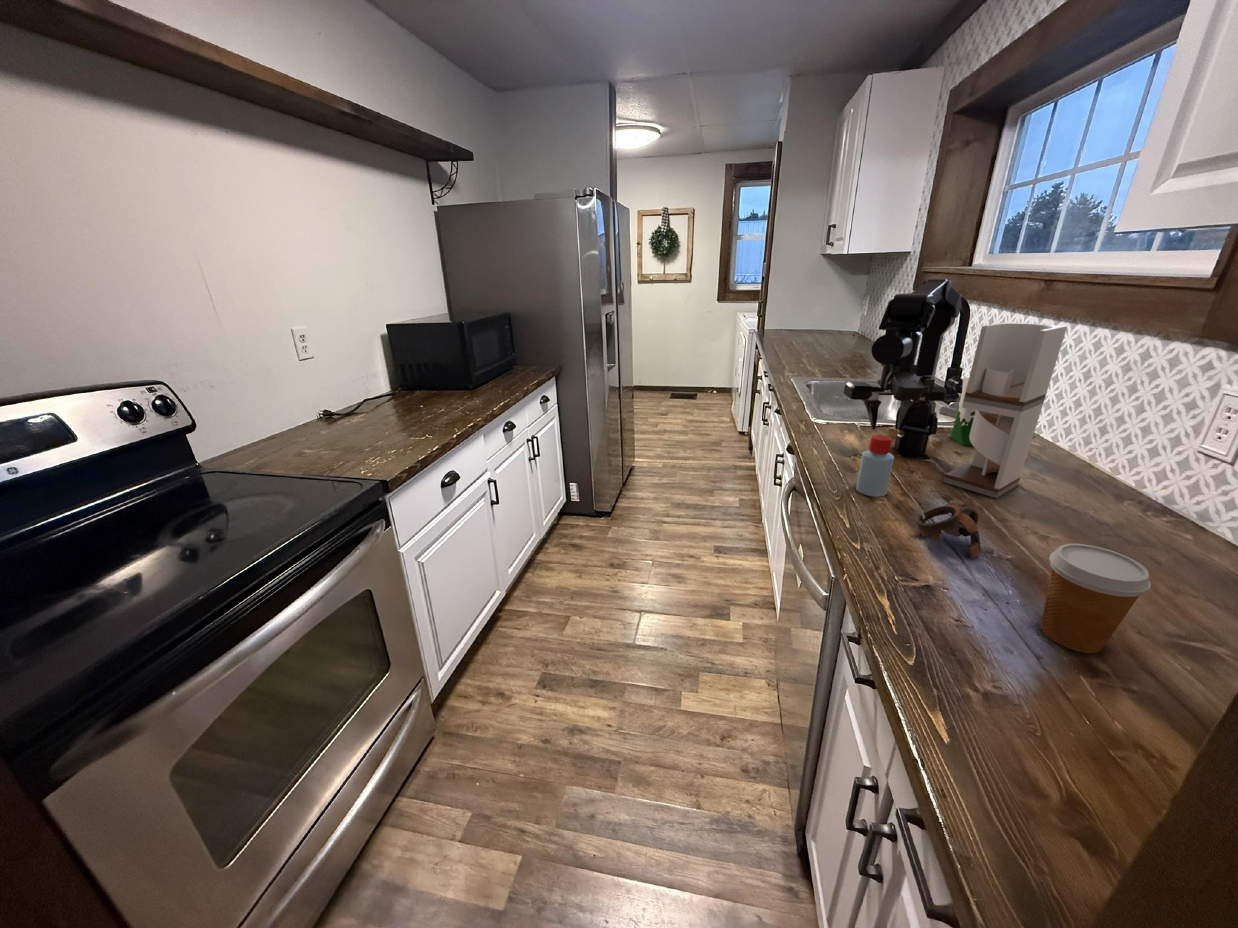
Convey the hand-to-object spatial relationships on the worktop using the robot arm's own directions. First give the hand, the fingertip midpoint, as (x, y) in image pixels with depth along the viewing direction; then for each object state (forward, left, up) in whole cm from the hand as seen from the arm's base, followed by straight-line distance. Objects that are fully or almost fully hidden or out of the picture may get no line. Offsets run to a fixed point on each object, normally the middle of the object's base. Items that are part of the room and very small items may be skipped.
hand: (886, 429), depth 108 cm
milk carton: (-37, -32, -14) cm, 51 cm away
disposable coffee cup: (-8, +50, -14) cm, 52 cm away
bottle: (+2, +3, -13) cm, 14 cm away
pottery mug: (-4, +26, -14) cm, 29 cm away
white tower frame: (-24, -2, -14) cm, 27 cm away
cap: (+2, +3, -4) cm, 6 cm away
